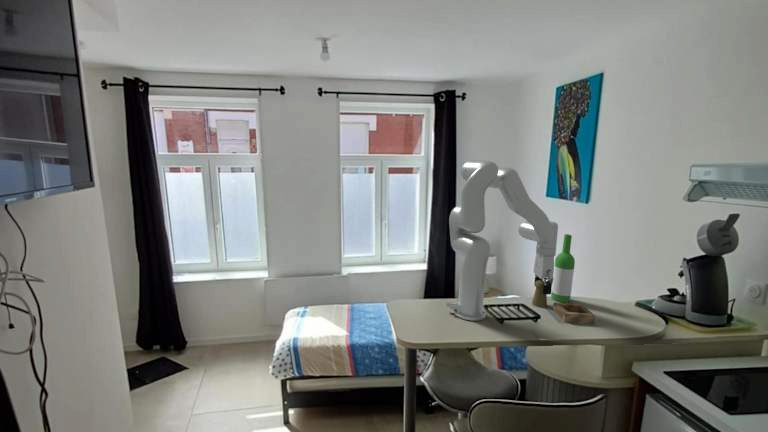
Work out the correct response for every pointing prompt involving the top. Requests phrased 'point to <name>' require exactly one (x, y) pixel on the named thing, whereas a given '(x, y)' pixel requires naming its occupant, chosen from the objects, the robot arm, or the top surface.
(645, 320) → the top surface
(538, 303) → the cork
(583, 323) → the mat
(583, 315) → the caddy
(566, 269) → the wine bottle
